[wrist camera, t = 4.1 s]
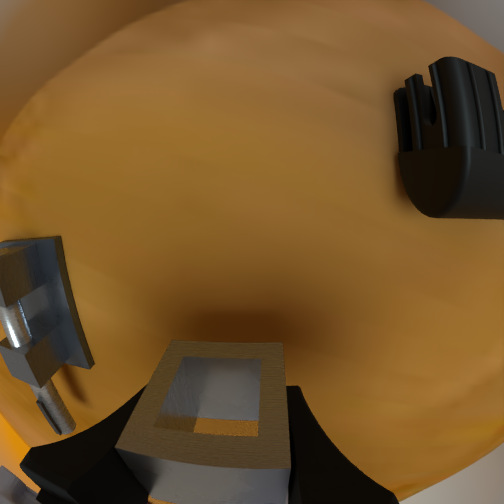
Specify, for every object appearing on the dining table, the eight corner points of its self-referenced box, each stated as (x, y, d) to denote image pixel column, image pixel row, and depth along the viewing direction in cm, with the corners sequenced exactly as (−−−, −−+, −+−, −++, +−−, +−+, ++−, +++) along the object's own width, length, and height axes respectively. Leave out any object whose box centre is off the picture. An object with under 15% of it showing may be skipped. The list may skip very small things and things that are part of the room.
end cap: (392, 207, 14) (465, 230, 8) (384, 87, 12) (447, 45, 6) (499, 211, 13) (564, 230, 7) (494, 115, 12) (559, 108, 5)
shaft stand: (115, 411, 20) (93, 450, 15) (55, 392, 20) (31, 422, 15) (60, 236, 15) (8, 257, 10) (3, 240, 16) (-39, 257, 11)
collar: (280, 403, 13) (283, 511, 6) (185, 399, 13) (152, 498, 7) (282, 342, 12) (291, 468, 5) (171, 339, 12) (114, 447, 6)
